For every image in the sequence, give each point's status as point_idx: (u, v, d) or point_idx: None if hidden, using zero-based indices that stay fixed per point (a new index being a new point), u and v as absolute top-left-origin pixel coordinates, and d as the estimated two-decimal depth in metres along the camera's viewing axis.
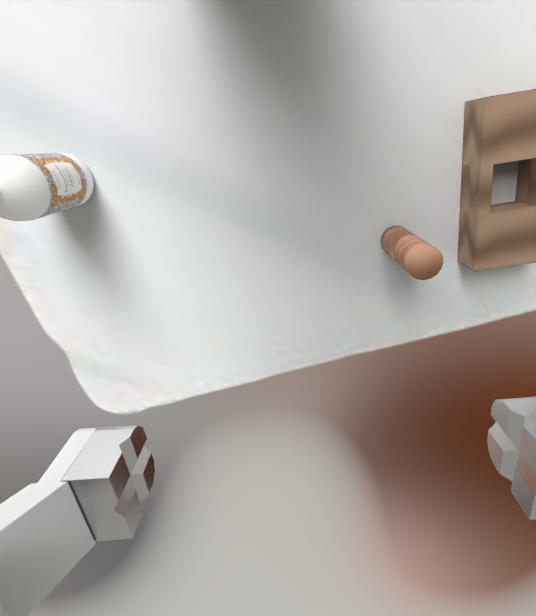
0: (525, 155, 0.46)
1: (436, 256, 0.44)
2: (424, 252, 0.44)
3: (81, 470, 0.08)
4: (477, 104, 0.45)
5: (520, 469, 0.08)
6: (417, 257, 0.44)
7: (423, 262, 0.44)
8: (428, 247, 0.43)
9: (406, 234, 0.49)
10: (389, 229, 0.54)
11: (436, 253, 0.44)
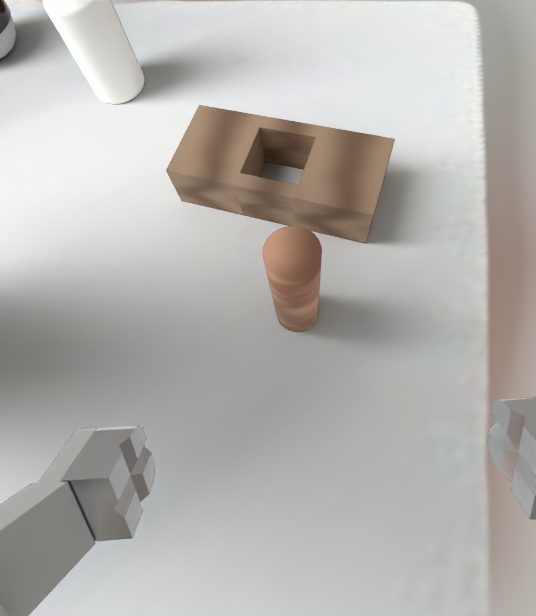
0: (248, 143, 0.39)
1: (288, 234, 0.26)
2: (272, 248, 0.26)
3: (81, 469, 0.08)
4: (176, 182, 0.40)
5: (520, 469, 0.08)
6: (275, 260, 0.26)
7: (288, 253, 0.26)
8: (267, 241, 0.26)
9: None
10: None
11: (283, 232, 0.26)
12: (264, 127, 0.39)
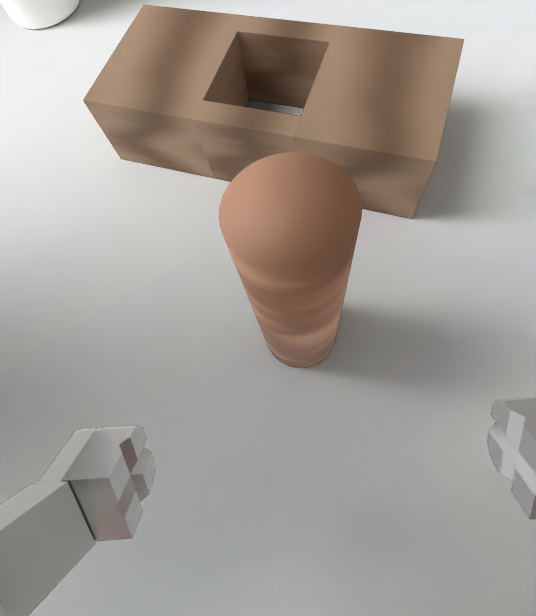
0: (219, 55, 0.23)
1: (280, 169, 0.11)
2: (243, 202, 0.11)
3: (81, 469, 0.08)
4: (105, 124, 0.25)
5: (520, 469, 0.08)
6: (249, 229, 0.11)
7: (279, 212, 0.11)
8: (231, 186, 0.11)
9: None
10: None
11: (267, 166, 0.11)
12: (245, 31, 0.24)
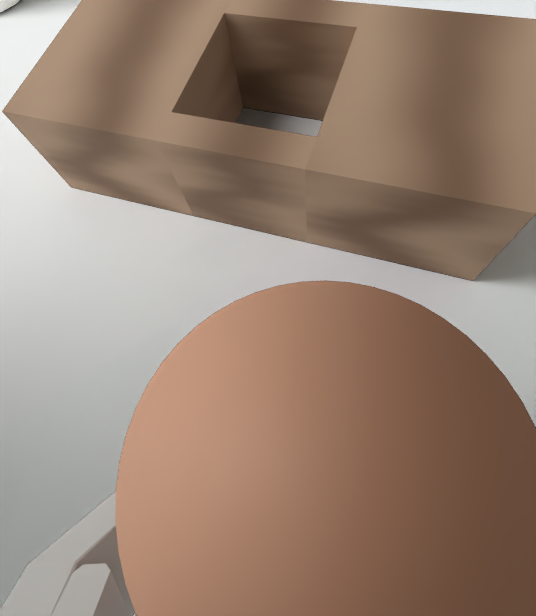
0: (197, 46, 0.16)
1: (294, 333, 0.04)
2: (187, 440, 0.04)
3: None
4: (40, 144, 0.18)
5: None
6: (200, 547, 0.03)
7: (295, 489, 0.04)
8: (160, 382, 0.04)
9: None
10: None
11: (260, 325, 0.04)
12: (235, 13, 0.17)
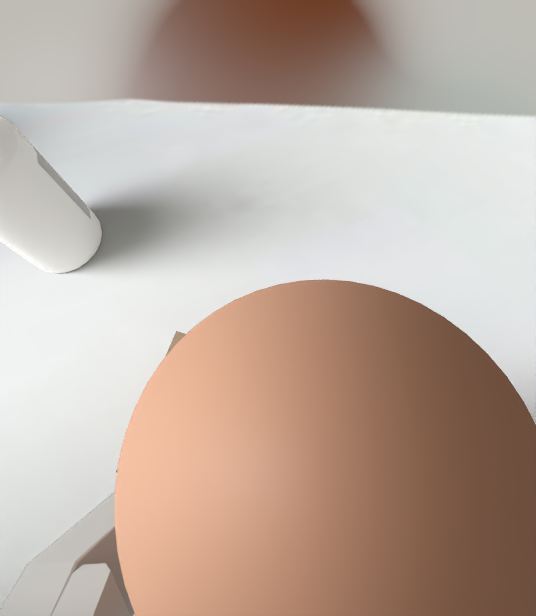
0: None
1: (294, 332, 0.04)
2: (187, 440, 0.04)
3: None
4: None
5: None
6: (200, 547, 0.03)
7: (295, 490, 0.03)
8: (160, 381, 0.04)
9: None
10: None
11: (259, 324, 0.04)
12: None
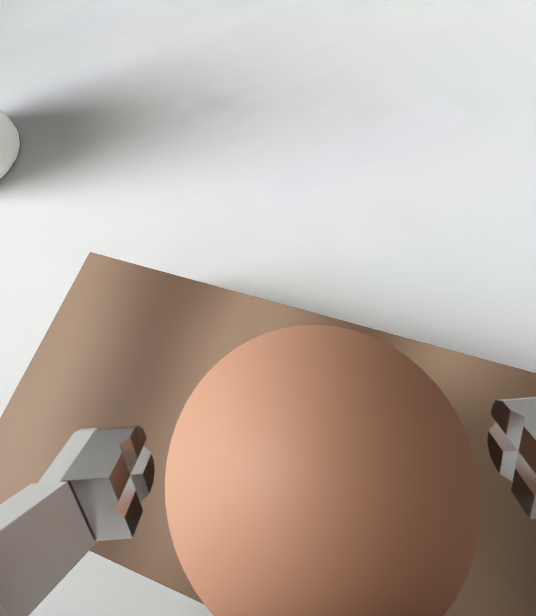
0: None
1: (294, 365, 0.05)
2: (216, 446, 0.05)
3: (81, 470, 0.08)
4: None
5: (520, 469, 0.08)
6: (228, 523, 0.05)
7: (295, 481, 0.05)
8: (194, 402, 0.05)
9: None
10: None
11: (269, 359, 0.05)
12: None
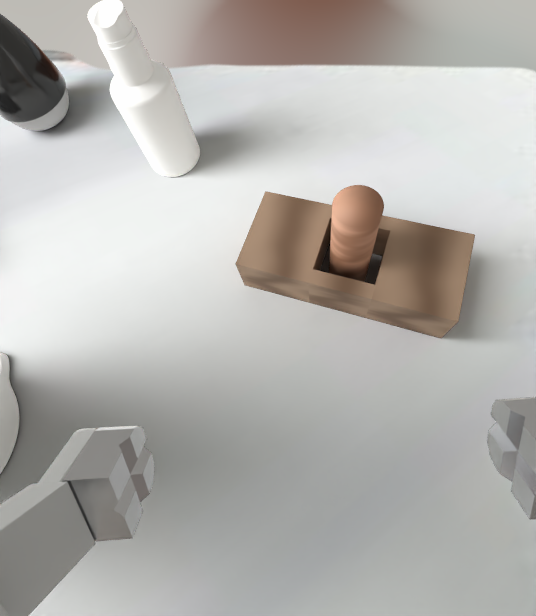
0: (319, 235, 0.38)
1: (353, 191, 0.31)
2: (340, 203, 0.30)
3: (81, 469, 0.08)
4: (244, 273, 0.39)
5: (520, 469, 0.08)
6: (343, 212, 0.30)
7: (354, 207, 0.30)
8: (335, 197, 0.31)
9: None
10: None
11: (348, 190, 0.31)
12: None
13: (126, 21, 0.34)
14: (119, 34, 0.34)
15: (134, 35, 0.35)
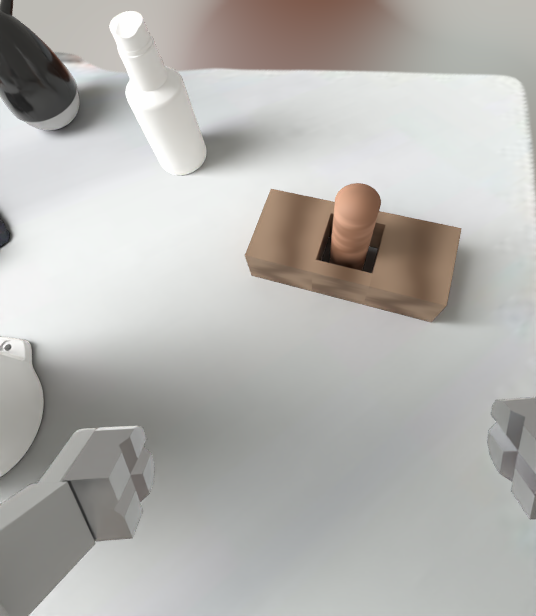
0: (321, 229, 0.41)
1: (353, 189, 0.34)
2: (342, 199, 0.34)
3: (81, 469, 0.08)
4: (252, 264, 0.43)
5: (520, 469, 0.08)
6: (345, 208, 0.34)
7: (354, 203, 0.34)
8: (338, 194, 0.34)
9: None
10: None
11: (349, 188, 0.34)
12: None
13: (145, 32, 0.37)
14: (138, 44, 0.37)
15: (151, 44, 0.38)
